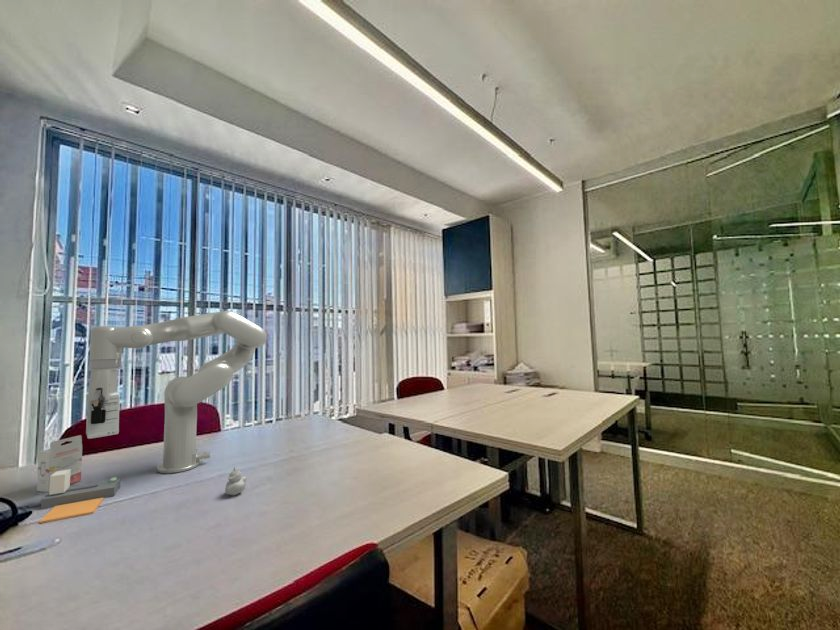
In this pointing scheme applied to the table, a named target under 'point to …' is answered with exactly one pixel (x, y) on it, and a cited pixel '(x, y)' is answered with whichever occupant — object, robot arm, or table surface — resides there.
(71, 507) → the pad
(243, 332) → the robot arm
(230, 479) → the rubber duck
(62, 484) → the cream rectangular block
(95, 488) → the gray flat block
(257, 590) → the table surface
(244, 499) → the table surface
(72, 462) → the ink cartridge box
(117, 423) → the supplement box
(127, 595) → the table surface
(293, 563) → the table surface
